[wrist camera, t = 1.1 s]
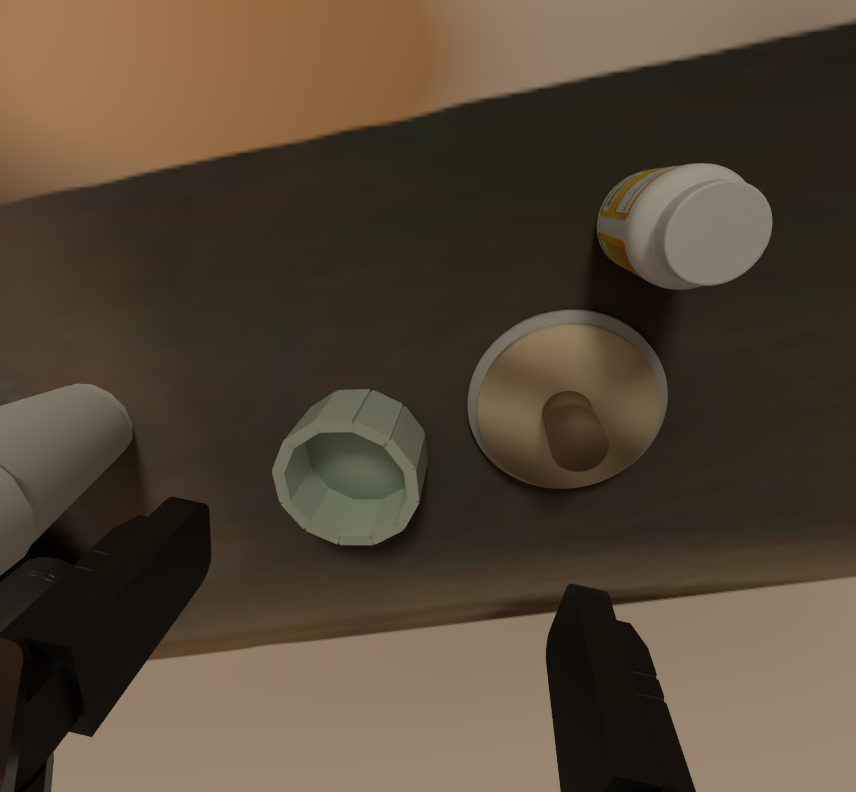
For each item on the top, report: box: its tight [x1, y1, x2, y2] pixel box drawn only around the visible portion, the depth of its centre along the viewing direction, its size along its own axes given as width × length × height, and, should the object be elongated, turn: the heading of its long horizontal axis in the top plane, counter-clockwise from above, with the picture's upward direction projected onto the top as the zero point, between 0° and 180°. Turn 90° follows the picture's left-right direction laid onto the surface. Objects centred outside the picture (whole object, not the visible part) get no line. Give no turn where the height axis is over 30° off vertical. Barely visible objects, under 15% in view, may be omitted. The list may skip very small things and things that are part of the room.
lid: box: [478, 323, 661, 488], centre depth 29 cm, size 12×12×6 cm
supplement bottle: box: [597, 163, 772, 290], centre depth 23 cm, size 5×5×10 cm
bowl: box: [272, 389, 428, 545], centre depth 33 cm, size 10×10×5 cm
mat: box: [468, 309, 668, 489], centre depth 32 cm, size 13×13×1 cm
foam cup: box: [0, 384, 133, 575], centre depth 32 cm, size 10×9×13 cm
